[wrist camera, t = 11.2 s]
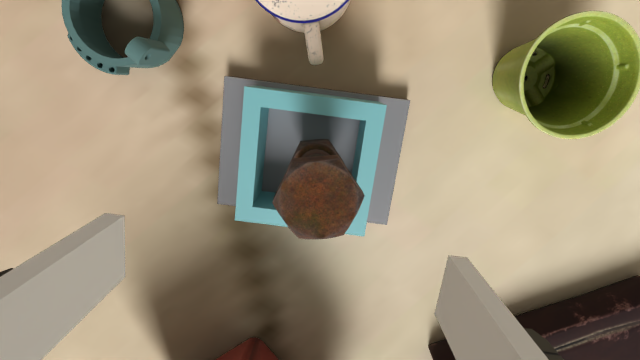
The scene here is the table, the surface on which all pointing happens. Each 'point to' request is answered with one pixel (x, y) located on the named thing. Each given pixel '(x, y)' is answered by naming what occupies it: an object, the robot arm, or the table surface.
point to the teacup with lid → (307, 19)
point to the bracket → (92, 45)
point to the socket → (298, 125)
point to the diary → (584, 325)
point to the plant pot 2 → (573, 75)
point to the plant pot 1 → (249, 351)
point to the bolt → (318, 192)
